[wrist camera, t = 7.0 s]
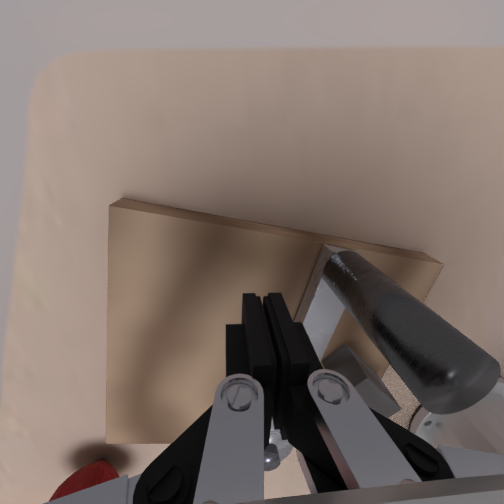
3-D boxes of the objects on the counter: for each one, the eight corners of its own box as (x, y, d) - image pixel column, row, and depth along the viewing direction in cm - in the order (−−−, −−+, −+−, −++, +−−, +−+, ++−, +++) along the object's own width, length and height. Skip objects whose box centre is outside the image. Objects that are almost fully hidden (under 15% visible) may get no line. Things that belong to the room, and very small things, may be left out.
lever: (280, 448, 24) (315, 618, 15) (234, 447, 23) (244, 627, 14) (372, 249, 16) (538, 361, 8) (311, 236, 15) (423, 347, 7)
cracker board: (423, 253, 20) (495, 291, 15) (336, 423, 27) (365, 488, 22) (121, 198, 15) (74, 225, 10) (114, 419, 22) (84, 500, 17)
